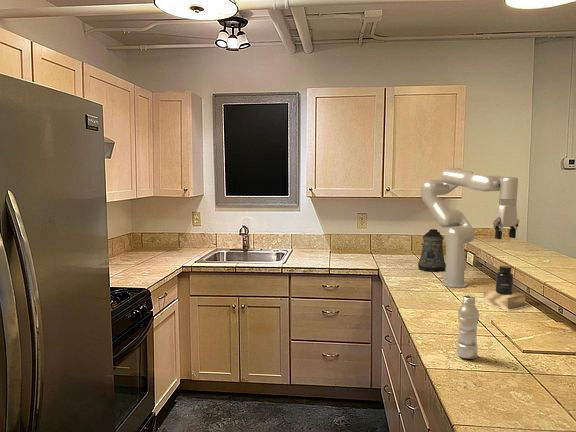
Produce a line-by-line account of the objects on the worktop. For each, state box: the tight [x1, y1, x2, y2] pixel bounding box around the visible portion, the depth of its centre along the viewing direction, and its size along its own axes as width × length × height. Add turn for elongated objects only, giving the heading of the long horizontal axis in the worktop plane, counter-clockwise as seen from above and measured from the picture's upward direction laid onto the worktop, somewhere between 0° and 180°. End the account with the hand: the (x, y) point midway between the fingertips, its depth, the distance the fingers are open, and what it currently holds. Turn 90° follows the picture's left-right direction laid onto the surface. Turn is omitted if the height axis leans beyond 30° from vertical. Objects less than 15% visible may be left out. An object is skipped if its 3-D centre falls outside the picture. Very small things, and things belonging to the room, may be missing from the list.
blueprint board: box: [479, 300, 531, 312], centre depth 204 cm, size 16×14×1 cm
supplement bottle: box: [495, 265, 514, 295], centre depth 203 cm, size 7×7×12 cm
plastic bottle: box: [456, 295, 480, 360], centre depth 147 cm, size 6×7×20 cm
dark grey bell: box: [417, 228, 446, 273], centre depth 284 cm, size 16×19×25 cm
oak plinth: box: [483, 289, 526, 310], centre depth 204 cm, size 12×12×5 cm
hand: (505, 238), depth 218 cm, fingers open, 9 cm apart
